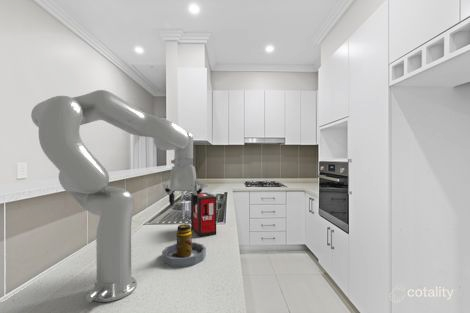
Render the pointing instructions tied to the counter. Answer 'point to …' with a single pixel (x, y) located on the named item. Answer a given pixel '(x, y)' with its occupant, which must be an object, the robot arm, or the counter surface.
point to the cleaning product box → (204, 215)
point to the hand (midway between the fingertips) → (183, 204)
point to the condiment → (183, 242)
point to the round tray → (187, 261)
